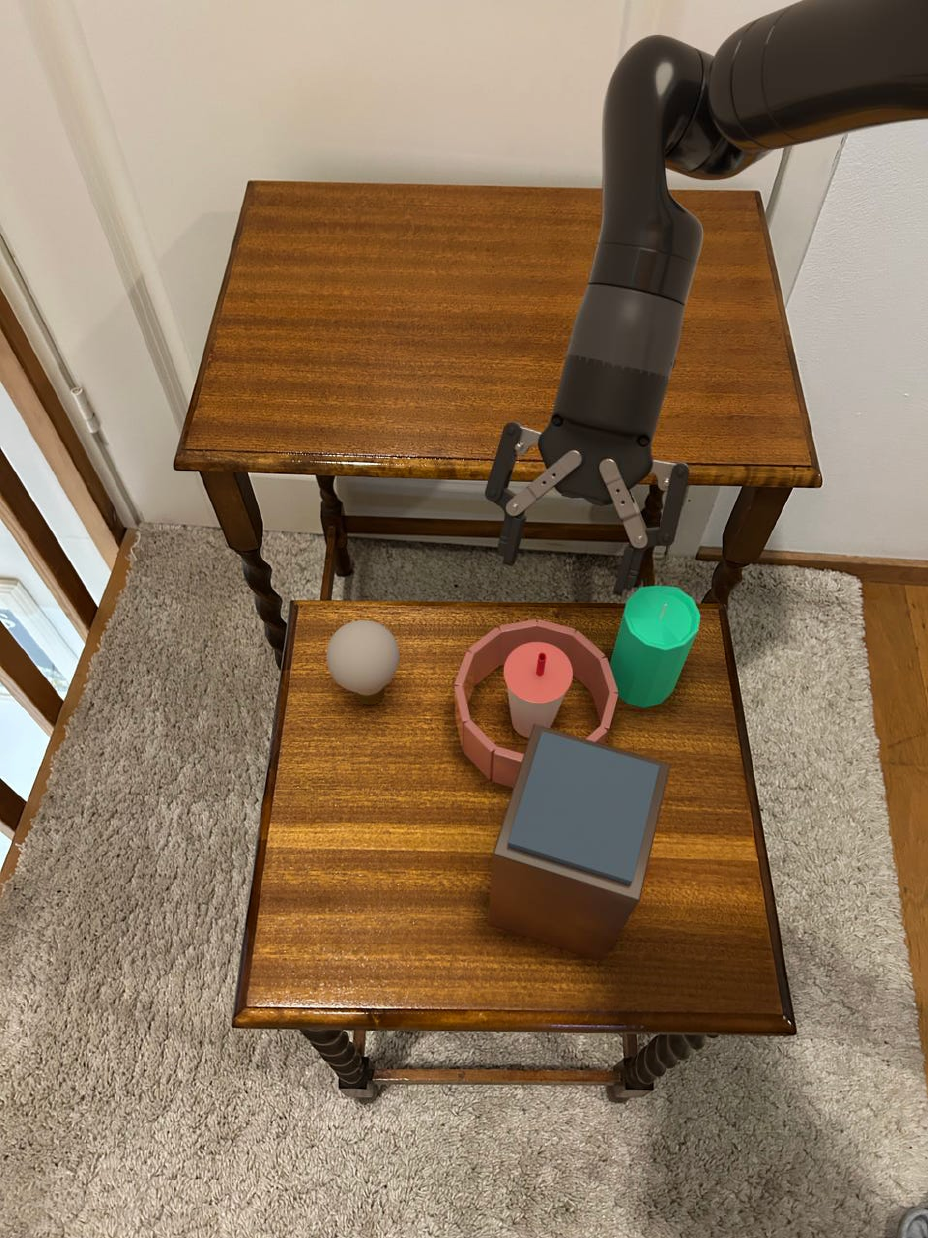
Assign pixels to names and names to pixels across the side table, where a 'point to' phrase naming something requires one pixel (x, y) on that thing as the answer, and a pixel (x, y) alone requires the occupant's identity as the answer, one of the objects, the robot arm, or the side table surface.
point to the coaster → (585, 807)
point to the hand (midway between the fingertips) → (563, 578)
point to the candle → (653, 644)
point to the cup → (536, 684)
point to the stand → (565, 879)
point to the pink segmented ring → (494, 653)
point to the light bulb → (363, 659)
